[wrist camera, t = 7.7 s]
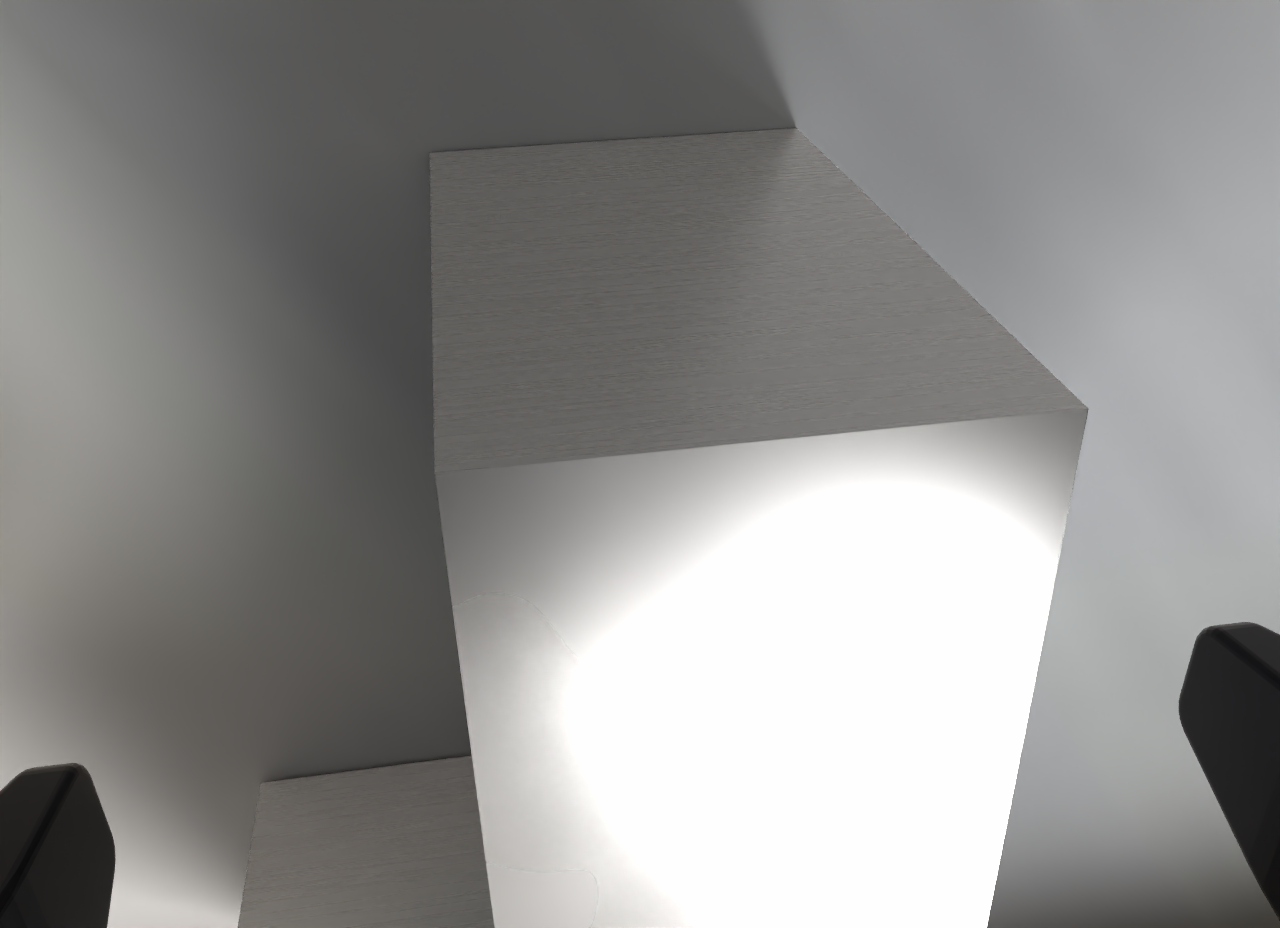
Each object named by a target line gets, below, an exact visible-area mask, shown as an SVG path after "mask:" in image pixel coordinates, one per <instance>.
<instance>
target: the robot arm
mask: <svg viewBox="0 0 1280 928" xmlns="http://www.w3.org/2000/svg"><path fill="white" fill-rule="evenodd" d="M1179 715H1180V720H1181V724H1182V727H1183V730H1184V732H1185V734H1186V736H1187V738H1188V740H1189V742H1190V745H1191V747H1192V749H1193V751H1194V753H1195V755H1196V757H1197V759H1198V761H1199V763H1200V765H1201V767H1202V769H1203V771H1204V774H1205V776H1206V778H1207V780H1208V782H1209V784H1210V786H1211V788H1212V790H1213V792H1214V794H1215V796H1216V798H1217V801H1218V803H1219V805H1220V807H1221V809H1222V811H1223V813H1224V815H1225V817H1226V819H1227V821H1228V823H1229V825H1230V827H1231V830H1232V832H1233V834H1234V836H1235V838H1236V840H1237V842H1238V844H1239V846H1240V848H1241V850H1242V852H1243V854H1244V857H1245V859H1246V861H1247V863H1248V865H1249V867H1250V868H1251V870H1252V872H1253V874H1254V876H1255V878H1256V880H1257V882H1258V884H1259V886H1260V888H1261V889H1262V891H1263V893H1264V895H1265V896H1266V898H1267V900H1268V901H1269V903H1270V905H1271V907H1272V908H1273V910H1274V912H1275V914H1276V915H1277V917H1278V919H1279V920H1280V635H1279V634H1277V633H1275V632H1273V631H1271V630H1269V629H1267V628H1265V627H1263V626H1260V625H1258V624H1255V623H1251V622H1241V623H1233V624H1224V625H1216V626H1210V627H1207V628H1205V629H1203V630H1202V632H1201V633H1200V634H1199V635H1198V636H1197V638H1196V641H1195V644H1194V648H1193V651H1192V655H1191V658H1190V662H1189V665H1188V669H1187V672H1186V676H1185V680H1184V683H1183V687H1182V690H1181V694H1180V698H1179ZM114 872H115V846H114V840H113V836H112V833H111V830H110V828H109V825H108V822H107V819H106V817H105V814H104V811H103V808H102V806H101V803H100V800H99V798H98V795H97V792H96V789H95V787H94V784H93V781H92V778H91V776H90V774H89V772H88V771H87V770H86V768H85V767H84V766H82V765H80V764H76V763H69V764H61V765H52V766H44V767H36V768H31V769H27V770H25V771H23V772H21V773H20V774H19V775H17V776H16V777H15V778H14V779H13V780H12V781H10V782H9V783H8V784H7V785H6V786H5V787H4V788H3V789H2V790H1V791H0V928H107V924H108V916H109V909H110V902H111V894H112V887H113V880H114Z"/></svg>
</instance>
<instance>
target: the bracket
mask: <svg viewBox="0 0 1280 928" xmlns="http://www.w3.org/2000/svg"><path fill="white" fill-rule="evenodd" d="M430 210H431V275H432V340H433V406H434V471H435V481H436V489H437V496H438V504H439V512H440V519H441V527H442V534H443V542H444V549H445V557H446V564H447V572H448V580H449V587H450V595H451V602H452V610H453V617H454V625H455V633H456V640H457V648H458V655H459V663H460V670H461V678H462V686H463V693H464V701H465V708H466V716H467V723H468V731H469V738H470V746H471V754H472V756H465V757H457V758H449V759H441V760H434V761H426V762H418V763H411V764H403V765H395V766H388V767H380V768H372V769H364V770H357V771H349V772H341V773H334V774H326V775H318V776H311V777H303V778H295V779H287V780H280V781H272V782H264V783H261V785H260V791H259V798H258V804H257V810H256V816H255V822H254V829H253V835H252V841H251V847H250V853H249V860H248V866H247V872H246V878H245V885H244V891H243V897H242V903H241V909H240V916H239V922H238V928H987V923H988V918H989V913H990V908H991V903H992V898H993V893H994V888H995V883H996V877H997V872H998V867H999V862H1000V857H1001V852H1002V847H1003V842H1004V837H1005V832H1006V826H1007V821H1008V816H1009V811H1010V806H1011V801H1012V796H1013V791H1014V786H1015V781H1016V776H1017V770H1018V765H1019V760H1020V755H1021V750H1022V745H1023V740H1024V735H1025V730H1026V725H1027V720H1028V714H1029V709H1030V704H1031V699H1032V694H1033V689H1034V684H1035V679H1036V674H1037V669H1038V663H1039V658H1040V653H1041V648H1042V643H1043V638H1044V633H1045V628H1046V623H1047V618H1048V613H1049V607H1050V602H1051V597H1052V592H1053V587H1054V582H1055V577H1056V572H1057V567H1058V562H1059V556H1060V551H1061V546H1062V541H1063V536H1064V531H1065V526H1066V521H1067V516H1068V511H1069V506H1070V500H1071V495H1072V490H1073V485H1074V480H1075V475H1076V470H1077V465H1078V460H1079V455H1080V450H1081V444H1082V439H1083V434H1084V429H1085V424H1086V419H1087V414H1088V408H1087V407H1086V406H1085V405H1084V404H1083V403H1082V402H1081V401H1080V400H1079V399H1078V398H1077V397H1076V396H1075V395H1074V394H1073V393H1072V392H1071V391H1070V390H1069V389H1068V388H1067V387H1065V386H1064V385H1063V384H1062V383H1061V382H1060V381H1059V380H1058V379H1057V378H1056V377H1055V376H1054V375H1053V374H1052V373H1051V372H1050V371H1049V370H1048V369H1047V368H1046V367H1045V366H1044V365H1043V364H1042V363H1041V362H1039V361H1038V360H1037V359H1036V358H1035V357H1034V356H1033V355H1032V354H1031V353H1030V352H1029V351H1028V350H1027V349H1026V348H1025V347H1024V346H1023V345H1022V344H1021V343H1020V342H1019V341H1018V340H1017V339H1016V338H1014V337H1013V336H1012V335H1011V334H1010V333H1009V332H1008V331H1007V330H1006V329H1005V328H1004V327H1003V326H1002V325H1001V324H1000V323H999V322H998V321H997V320H996V319H995V318H994V317H993V316H992V315H991V314H989V313H988V312H987V311H986V310H985V309H984V308H983V307H982V306H981V305H980V304H979V303H978V302H977V301H976V300H975V299H974V298H973V297H972V296H971V295H970V294H969V293H968V292H967V291H966V290H965V289H963V288H962V287H961V286H960V285H959V284H958V283H957V282H956V281H955V280H954V279H953V278H952V277H951V276H950V275H949V274H948V273H947V272H946V271H945V270H944V269H943V268H942V267H941V266H940V265H938V264H937V263H936V262H935V261H934V260H933V259H932V258H931V257H930V256H929V255H928V254H927V253H926V252H925V251H924V250H923V249H922V248H921V247H920V246H919V245H918V244H917V243H916V242H915V241H914V240H912V239H911V238H910V237H909V236H908V235H907V234H906V233H905V232H904V231H903V230H902V229H901V228H900V227H899V226H898V225H897V224H896V223H895V222H894V221H893V220H892V219H891V218H890V217H889V216H887V215H886V214H885V213H884V212H883V211H882V210H881V209H880V208H879V207H878V206H877V205H876V204H875V203H874V202H873V201H872V200H871V199H870V198H869V197H868V196H867V195H866V194H865V193H864V192H863V191H861V190H860V189H859V188H858V187H857V186H856V185H855V184H854V183H853V182H852V181H851V180H850V179H849V178H848V177H847V176H846V175H845V174H844V173H843V172H842V171H841V170H840V169H839V168H838V167H836V166H835V165H834V164H833V163H832V162H831V161H830V160H829V159H828V158H827V157H826V156H825V155H824V154H823V153H822V152H821V151H820V150H819V149H818V148H817V147H816V146H815V145H814V144H813V143H811V142H810V141H809V140H808V139H807V138H806V137H805V136H804V135H803V134H802V133H801V132H800V131H799V130H798V129H797V128H790V129H775V130H760V131H745V132H730V133H715V134H700V135H685V136H670V137H655V138H640V139H625V140H610V141H595V142H580V143H565V144H550V145H535V146H520V147H505V148H490V149H475V150H460V151H445V152H430Z"/></svg>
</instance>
